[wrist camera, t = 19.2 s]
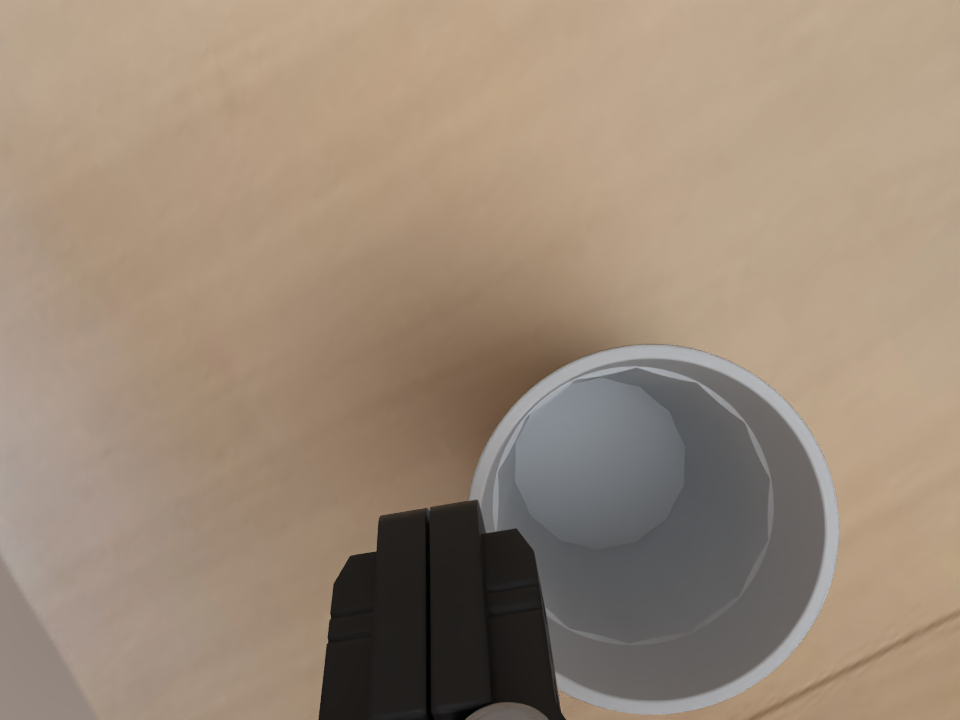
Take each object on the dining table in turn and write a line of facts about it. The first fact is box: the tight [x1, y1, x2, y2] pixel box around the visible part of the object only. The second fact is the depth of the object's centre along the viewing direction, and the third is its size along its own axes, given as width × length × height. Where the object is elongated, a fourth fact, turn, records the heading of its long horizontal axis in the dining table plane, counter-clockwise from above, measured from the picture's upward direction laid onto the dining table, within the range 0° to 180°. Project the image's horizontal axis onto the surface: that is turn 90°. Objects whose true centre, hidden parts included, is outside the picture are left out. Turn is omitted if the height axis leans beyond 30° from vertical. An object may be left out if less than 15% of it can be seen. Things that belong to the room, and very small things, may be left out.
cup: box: [468, 344, 839, 715], centre depth 25 cm, size 8×8×12 cm
